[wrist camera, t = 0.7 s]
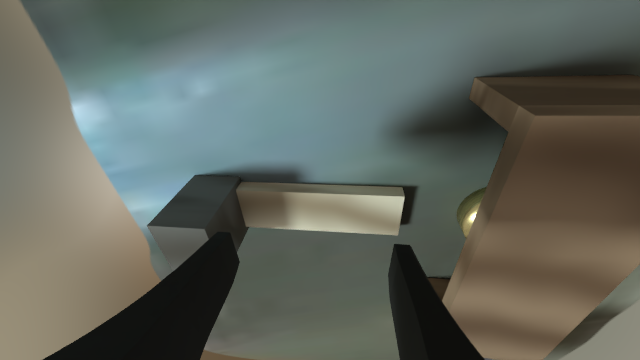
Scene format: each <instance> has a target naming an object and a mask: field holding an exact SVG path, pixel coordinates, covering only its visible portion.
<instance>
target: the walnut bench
mask: <svg viewBox="0 0 640 360" xmlns="http://www.w3.org/2000/svg"><path fill="white" fill-rule="evenodd" d="M469 99H470V100H471V101H473V102H474V103H475V104H476V105H477V106H479V107H480V108H481V109H482V110H483V111H484V112H486V113H487V114H488V115H489V116H490V117H491V118H493V119H494V120H495V121H496V122H497V123H498V124H500V125H501V126H502V127H503V128H504V129H505V130H507V131H508V135H507V137H506V140H505V142H504V145H503V147H502V150H501V152H500V155H499V158H498V160H497V163H496V165H495V168H494V170H493V173H492V175H491V178H490V180H489V183H488V185H487V188H486V191H485V193H484V196H483V198H482V201H481V203H480V206H479V208H478V211H477V213H476V216H475V218H474V221H473V224H472V226H471V229H470V231H469V234H468V236H467V239H466V241H465V244H464V246H463V249H462V251H461V254H460V257H459V259H458V262H457V264H456V267H455V269H454V272H453V274H452V277H451V279H437V278H428V279H429V281H430V283H431V284H432V286H433V288H434V289H435V291H436V293H437V294H438V296H439V297H440V299H441V301H442V302H443V304H444V305H445V307H446V308H447V310H448V311H449V313H450V314H451V315H452V317H453V318H454V320H455V321H456V323H457V324H458V325H459V327H460V328H461V330H462V331H463V332H464V334H465V335H466V336H467V338H468V339H469V340H470V342H471V343H472V344H473V345H474V347H475V348H476V349H477V351H478V352H479V353H480V354H481V355H482V357H483V358H490V359H499V360H543V359H544V358H545V357H546V356H547V355H548V354H549V353H550V352H551V351H552V350H553V349H554V348H555V347H556V346H557V345H558V344H559V343H560V342H561V341H562V340H563V339H564V338H565V337H566V336H567V335H568V334H569V333H570V332H571V331H572V330H573V329H574V328H575V327H576V326H577V325H578V324H579V323H580V322H581V321H582V320H583V319H584V318H585V317H586V316H587V315H589V314H590V313H591V312H592V311H593V310H594V309H595V308H596V307H597V306H598V305H599V304H600V303H601V302H602V301H603V300H604V299H605V298H606V297H607V296H608V295H609V294H610V293H611V292H612V291H613V290H614V289H615V288H616V287H617V286H618V285H619V284H620V283H621V282H622V281H623V280H624V279H625V278H626V277H627V276H628V275H629V274H630V273H631V272H632V271H633V270H634V269H635V268H636V267H637V266H638V265H639V264H640V77H639V76H635V75H594V76H534V77H475V78H474V82H473V85H472V89H471V93H470V96H469Z"/></svg>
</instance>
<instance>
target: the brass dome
mask: <svg viewBox="0 0 640 360" xmlns="http://www.w3.org/2000/svg"><path fill="white" fill-rule="evenodd" d="M486 188H487V187H485V188H482V189H479V190H477V191H475V192H473V193H472V194H470V195H469V196H468V197H466V198H465V199H464V200H463V201H462V203H461V204H460V206H459V208H458V210H457V220H458V222H459V225H460V227H461V229H462V231H463V233H464V235H465V238H466V239H467V236H468V234H469V231H470V229H471V226H472V224H473V221H474V218H475V216H476V213H477V211H478V208H479V206H480V203H481V201H482V198H483V196H484V193H485V191H486Z"/></svg>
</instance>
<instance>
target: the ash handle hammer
mask: <svg viewBox="0 0 640 360" xmlns="http://www.w3.org/2000/svg"><path fill="white" fill-rule="evenodd" d="M404 198H405V196H404V192H403V187H382V186H352V185H323V184H293V183H263V182H241V179H240V177H232V176H200V175H194V177H193V178H192V179H191V180H190V181H189V182H188V183H187V184H186V185H185V186H184V187H183V188H182V189H181V190H180V191H179V192H178V193H177V194H176V196H175V197H174V198H173V199H172V200H171V201H170V202H169V203H168V204H167V205H166V206H165V207H164V208H163V209H162V210H161V211H160V212H159V213H158V215H157V216H156V217H155V218H154V219H153V220H152V221H151V222H150V223H149V224H148V225H147V227H148V229H149V230H150V232H151V234H152V235H153V237H154V239H155V241H156V242H157V244H158V246H159V247H160V249H161V251H162V253H163V254H164V256H165V258H166V260H167V261H168V263H169V265H170V266H171V268H172V270H173V271H174V270H175V269H177V268H178V267H179V266H180V265H181V264H182V263H183V262H184V261H186V260H187V259H188V258H189V257H190V256H191V255H192V254H193V253H195V252H196V251H197V250H198V249H199V248H200V247H201V246H202V245H203V244H204V243H205V242H207V241H208V240H209V239H210V238H211V237H212V236H213V235H214V234H215V233H217V232H230V233H231V236H232V239H233V242H234V246H235V249H236V252H237V251H238V249H239V247H240V245H241V243H242V241H243V239H244V236H245V234H246V232H247V230H248V228H249V227H260V228H278V229H295V230H313V231H331V232H349V233H367V234H385V235H398V232H399V226H400V221H401V215H402V209H403V204H404Z"/></svg>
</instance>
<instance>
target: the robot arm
mask: <svg viewBox="0 0 640 360" xmlns="http://www.w3.org/2000/svg"><path fill="white" fill-rule="evenodd" d="M239 263H240V261H239V258H238V255H237V252H236V249H235V246H234V242H233V239H232V236H231V233H230V232H217V233H215V234H214V235H213V236H212V237H211V238H210V239H209V240H208V241H207V242H205V243H204V244H203V245H202V246H201V247H200V248H199V249H198V250H197V251H196V252H195V253H193V254H192V255H191V256H190V257H189V258H188V259H187V260H186V261H184V262H183V263H182V264H181V265H180V266H179V267H178V268H177V269H175V270H174V271H173V272H172V273H171V274H169V275H168V276H167V277H166V278H165V279H163V280H162V281H161V282H160V283H159V284H157V285H156V286H155V287H154V288H152V289H151V290H150V291H149V292H147V293H146V294H145V295H143V296H142V297H141V298H139V299H138V300H137V301H135V302H134V303H132V304H131V305H130V306H128V307H127V308H125V309H124V310H123V311H121V312H120V313H118V314H117V315H115V316H114V317H112V318H111V319H109V320H107V321H106V322H104V323H103V324H101V325H100V326H98V327H97V328H95V329H94V330H92V331H91V332H89V333H88V334H86V335H84V336H82V337H81V338H79V339H78V340H76V341H74V342H73V343H71V344H69V345H67V346H66V347H64V348H62V349H61V350H59V351H57V352H55V353H54V354H52V355H50V356H48V357H46V358H45V359H43V360H200V358H201V355H202V352H203V349H204V347H205V344H206V342H207V339H208V337H209V335H210V332H211V330H212V328H213V326H214V324H215V322H216V319H217V317H218V315H219V313H220V311H221V309H222V306H223V304H224V302H225V300H226V298H227V296H228V293H229V291H230V289H231V287H232V284H233V282H234V279H235V276H236V272H237V269H238V266H239ZM388 278H389V294H390V303H391V309H392V315H393V321H394V327H395V333H396V339H397V344H398V350H399V356H400V360H492V359H490V358H483V357H482V355H481V354H480V353H479V352H478V351H477V349H476V348H475V347H474V345H473V344H472V343H471V342H470V340H469V339H468V338H467V336H466V335H465V334H464V332H463V331H462V330H461V328H460V327H459V325H458V324H457V323H456V321H455V320H454V318H453V317H452V315H451V314H450V313H449V311H448V310H447V308H446V307H445V305H444V304H443V302H442V301H441V299H440V297H439V296H438V294H437V293H436V291H435V289H434V288H433V286H432V284H431V283H430V281H429V279H428V278H427V276H426V274H425V272H424V271H423V269H422V267H421V265H420V263H419V261H418V260H417V258H416V256H415V254H414V252H413V249H412V247H411V246H410V245H401V244H394V248H393V253H392V258H391V263H390V268H389V273H388Z"/></svg>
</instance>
